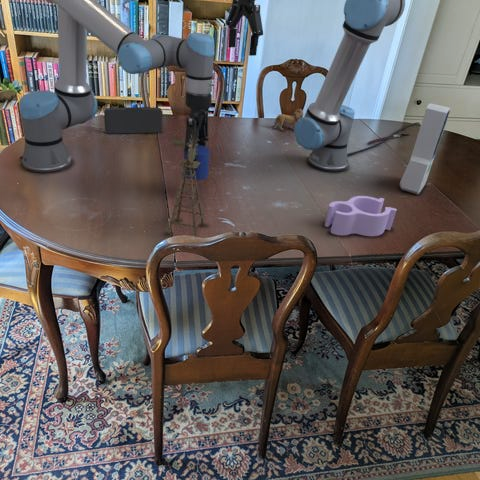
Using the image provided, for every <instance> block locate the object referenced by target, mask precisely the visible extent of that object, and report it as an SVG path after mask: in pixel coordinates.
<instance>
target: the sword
mask: <svg viewBox="0 0 480 480" xmlns="http://www.w3.org/2000/svg"><path fill="white" fill-rule="evenodd" d="M401 134H402V133H399V132H398V133H396V134H395V135H393V136H391V137H389V136H390V135H389V136H383V137H379V138H376V139H372V140H370V141H368V143H367V144H368V145H372V144H373V143H378V142H381V141H383V140H385V139H386V138H388V137H389V139H393V138H400V137H402V136H406V135H409V134H404V135H401Z"/></svg>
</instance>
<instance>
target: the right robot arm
mask: <svg viewBox="0 0 480 480" xmlns="http://www.w3.org/2000/svg"><path fill="white" fill-rule="evenodd" d="M255 3H256V0H232V3H231V7H230V10H229V14H228V16H227V18H226V22H225V25H226V26H227V27H228V46H227V47H228V48H236V44H237V43H236V42H237V31H238V29H237V26H238V24H239V23H240V21H241V20H242V17H245V18H246V19H247V22H248V25H249V28H250V31H251V35H250V38H249V39H250V41H249V50H248V56H249V57H251V56H252V57H253V56H257V50H258V45H259V37H261V36H263V35H264V29H263V24H262V23H263V21H262V15H261V5H260V4H255ZM405 7H406V0H345V2H344V6H343V14H344V21H343V22H342V30H343V32H344V34H343V36H342V38H341V41H340V43H339V45H338V47H337V51H336V52H335V55H334V57H333V60H332V62H331V64H330V67H329V69H328V71H327V74H326V76H325V78H324V80H323V83H322V85H321V88H320V90H319V92H318V94H317V96H316V98H315V101H314V102H312V103H311V102H310V104H309V105H308V107H307V109H306V112H305V114H304V115H303V117H302V118H300V119H299V120H298V121H297V122H296V124H295V127H294V130H293V134H294V137H295V140H296V142H297V144H298V145H299V146H300V147H301V148H303V149H305V150H308V151H311V152H310V154H309V156H308V160H307V162H308V164H309V166H311V167H312V168H314V169H317V170H320V171H322V172H328V173H340V172H344V171H346V170H347V169H348V165H349V159H348V156H352V155H356V154H359V153H361V152H364V151H367V150H370V149H373V148H375V147H377V146H380V145H381V144H383V143H385V142H386V141H388V140H389V139H390V138H389V137H391V136H393V135H396V134H398V133H399V132H401V131H403V130H405V129H406V128H408V127H412V126H414V125H413V124H415V125H418V126H421V124H420V122H413V123H411V124H407V125H405V126H403V127H401V128H400V129H397V130H396V131H395V132H393V133H392V134H390V135H389V137H388V136H387V137H388V138H386V139H384V140H380V141H378V142H376V143H375V144H374V145H373V144H372V145H371V146H368V147H365V148H363V149H359V150H357V151H353V152H349V153H348V144H349V141H350V135H351V132H352V127H353V123H354V120H355V110H354V109H353V108H352V107H349V106H347V105H344V104H343V103H344V101H345V99H346V97H347V95H348V92H349V91H350V89H351V86H352V84H353V82H354V80H355V78H356V76H357V75H358V72H359V69H360V67H361V65H362V63H363V61H364V58H365V57H366V55H367V52H368V50H369V48H370V46H371V45H372V44H374V43H376V42H378V41H379V39H380V37H381V34H382V32H383V30H384V28H385V27H389V26H392V25H394V24H395V23H396V22H398V20H400V19H401V17H402V15H403V13H404V12H405Z"/></svg>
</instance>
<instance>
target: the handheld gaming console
mask: <svg viewBox="0 0 480 480" xmlns="http://www.w3.org/2000/svg"><path fill="white" fill-rule="evenodd" d="M163 113H164V111H163V110H162V109H161V107H150V106H138V107H136V106H135V107H134V106H131V107H130V106H129V107H128V106H126V107H125V106H124V107H123V106H122V107H121V106H120V107H119V106H117V107H106V108H104V110H103V117H104V118H103V119H104V130H105V132H106V133H107V134H149V133H151V134H152V133H162V131H163V130H164V129H163V118H164V117H163Z"/></svg>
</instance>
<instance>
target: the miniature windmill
mask: <svg viewBox="0 0 480 480" xmlns="http://www.w3.org/2000/svg"><path fill="white" fill-rule="evenodd" d="M195 130H196V129H195ZM196 131H197V130H196ZM198 135H199V134H198ZM195 136H197V135H196V134H195ZM197 137H198V136H197ZM191 138H192V135H191ZM194 138H195V137H194ZM195 139H196V142H195V140H194V142H195V143H197V141H198V139H199V138H198V139H197V138H195ZM192 142H193V140H190V142H187V144H185V141H184V140H183V139H180V138H177V137H172V147H185V145H187V146H188V147H189V150H188V155H187V159H184V158H183V160H182V162H181V163H179V164H178V166H179V167H184V171H183V170H182V172H181V179H180V180H179V182H180V183H179V187H178V188H177V195H176V197H175V203H174V205H173V210H172V212H171V219H170V220H169V227H168V231H167V234H168V235H170V234H171V231H172V227H173V225H180V226H184V227H191V228H193V237H194V236H196V237H197V238H198V236H197V227H198V225H199V224H200V222H201V226H205V221H204V215H205V213H203V210H202V205H201V197H200V193H199V185H198V183H197V180H196V176H195V173H196V171H195V170H194V168H197V167H198V166H199V165H200V163H201V162H198V161H195V162H194V159H195V156H196V151H197V147H196V146H198V144H199V143H198V144H195V143H194V142H193V143H192ZM193 144H195V145H193ZM193 146H194V149H193ZM190 147H191V148H190ZM191 165H192V166H191ZM189 168H190V170H187V169H189ZM191 168H192V170H193V171H192V170H191ZM187 171H188V172H190V175H186V173H187ZM192 172H193V174H192ZM193 176H194V180H192V177H193ZM186 177H190V179H189V180H190V182H186V179H187V178H186ZM193 181H194V182H193ZM185 185H189V186H190V190H189V189H188V190H187V189H185ZM184 192H185V193H190V194H191V196H190V195H189V196H188V195H184ZM194 193H195V194H196V196H195V197H194ZM183 198H188V199H191V206H189V205H188V206H187V205H183V204H182V203H183V202H182V201H183ZM195 200H197V202H196V203H195ZM197 206H198V211H199V212H196V211H195V210H196V208H197ZM177 208H178V209H177ZM181 208H186V209H190V210H192V211H190V210H185V209H181ZM181 212H184V213H189V214H192V224H187V223H181V222H179V221H180V214H181ZM196 215H199V218H198V221H197V222H196ZM175 216H176V221H177V222H176V221H174V220H175Z"/></svg>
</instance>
